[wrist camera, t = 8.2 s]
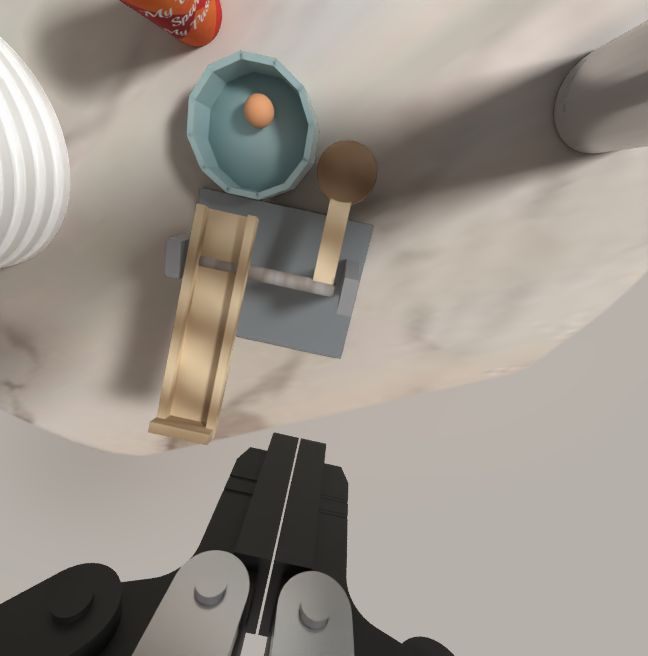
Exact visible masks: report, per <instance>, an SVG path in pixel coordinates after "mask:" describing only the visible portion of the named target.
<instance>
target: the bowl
mask: <svg viewBox="0 0 648 656" xmlns="http://www.w3.org/2000/svg"><path fill="white" fill-rule="evenodd" d="M256 93H260V94H263V95H265V96H267V97H268V98H269V99H270V101H271V102H272V104H273V107H274V117H273V120H272V122H271V123H270V124H269V125H268V126H267V127H265V128H256V127H254V126H252V125H251V124H250V123H249V122H248V121H247V119H246V117H245V115H244V104H245V101H246V100H247V98H248V97H249V96H250V95H252V94H256ZM319 132H320V131H319V128H318V125H317V121H316V118H315V115H314V111H313V108H312V105H311V101H310V98H309V96H308V94H307V92H306V90H305V88H304V86H303V85H302V84H301V83H300V82H299V81H298V80H297V79H296V78H295V77H294V76H293V75H292V74H291V73H290V72H289V71H288V70H287V69H286V68H285V67H284V66H283V65H282V64H281V63H280V62H279V61H278V60H277V59H276V58H272V57H268V56H263V55H259V54H254V53H249V52H245V51H238V52H236V53H234V54H232V55H230V56H227V57H225V58H223V59H221V60H218V61H216V62H214V63H212V64H210V65H208V66H207V68H206V70H205V71H204V73H203V74H202V76H201V78H200V79H199V81H198V83H197V84H196V86H195V87H194V89H193V91H192V92H191V94H190V96H189V101H188V119H187V137H188V140H189V142H190V144H191V147H192V149H193V152H194V154H195V157H196V159H197V162H198V164H199V166H200V169H201V170H202V171H203V172H204V173H205V174H206V175H207V176H208V177H210V178H211V179H212V180H213V181H214V182H215V183H216V184H217V185H219V186H220V187H221V188H222V189H223V190H224V191H225V192H226V193H230V194H234V195H239V196H244V197H248V198H253V199H257V200H260V199H268V198H271V197H274V196H276V195H279V194H282V193H285V192H287V191H290V190H293V189H295V188H296V187H297V185H298V184H299V183H300V182H301V180H302V179H303V178H304V177H305V175H306V174H307V173H308V172H309V170H310V169H311V168H312V166H313V165H314V161H315V155H316V149H317V144H318V138H319Z"/></svg>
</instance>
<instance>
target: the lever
mask: <svg viewBox="0 0 648 656" xmlns="http://www.w3.org/2000/svg"><path fill="white" fill-rule="evenodd" d="M317 177H318V183H319V187H320V189H321V191H322V193H323V194H324V195H325V197H326V198H327V199H329V200H330V203H329V207H328V212H327V217H326V221H325V226H324V231H323V235H322V240H321V245H320V249H319V254H318V259H317V263H316V268H315V272H314V277H313V278H309V277H304V276H300V275H295V274H291V273H286V272H282V271H277V270H273V269H268V268H263V267H259V266H254V265H250V262H251V257H252V252H253V247H254V242H255V237H256V232H257V227H258V222H259V219H258V218H257V217H256V216H252V215H248V217H246V216H241V215H236V214H232V213H227V212H223V211H218V210H214V209H209V208H208V207H207V206H205V205H202V204H196V209H195V215H194V220H193V225H192V231H191V236H190V241H189V247H188V252H187V258H186V263H185V268H184V274H183V279H182V284H181V290H180V295H179V300H178V306H177V311H176V317H175V322H174V327H173V333H172V338H171V343H170V349H169V354H168V359H167V365H166V370H165V376H164V381H163V386H162V392H161V397H160V402H159V408H158V413H157V417H156V418H155V419H153V420H152V421H150V425H149V430H148V432H150V433H154V434H159V435H163V436H168V437H173V438H177V439H182V440H186V441H191V442H195V443H200V444H204V445H208V444H209V442H210V441H211V440H212V439H213V438H214V436H215V435H216V431H217V426H218V421H219V416H220V411H221V406H222V401H223V396H224V391H225V386H226V381H227V376H228V371H229V366H230V361H231V356H232V351H233V346H234V341H235V336H236V331H237V326H238V322H239V317H240V312H241V307H242V302H243V297H244V292H245V287H246V282H247V279H251V280H255V281H260V282H264V283H269V284H273V285H278V286H282V287H287V288H291V289H296V290H301V291H305V292H310V293H314V294H319V295H323V296H328V297H332V298H333V293H334V289H335V284H336V283H334V279H335V274H336V270H337V265H338V261H339V256H340V252H341V247H342V243H343V238H344V234H345V229H346V224H347V220H348V215H349V211H350V206H351V205H354V204H357V203H359V202H361V201H363V200H364V199H365V198H366V197H367V196H368V195H369V194H370V193H371V191H372V189H373V187H374V184H375V181H376V178H377V164H376V161H375V158H374V156H373V154H372V153H371V152H370V151H369V149H368V148H366V147H365V146H364V145H362V144H360V143H358V142H355V141H340V142H337V143H334V144H333V145H331V146H330V147H328V148H327V149H326V150H325V151H324V153H323V154H322V156H321V157H320V160H319V163H318V167H317Z"/></svg>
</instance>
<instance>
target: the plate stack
mask: <svg viewBox="0 0 648 656" xmlns="http://www.w3.org/2000/svg"><path fill="white" fill-rule="evenodd" d="M69 195H70V166H69V159H68V153H67V148H66V144H65V140H64V136H63V133H62V130H61V127H60V124H59V121H58V119H57V116H56V114H55V112H54V110H53V107H52V105H51V103H50V101H49V99H48V97H47V96H46V94H45V92H44V90H43V89H42V87H41V85H40V84H39V82H38V81H37V79H36V78H35V76H34V75H33V73H32V72H31V70H30V69H29V68H28V66H27V65H26V64H25V63H24V61H23V60H22V59H21V58H20V57H19V55H18V54H17V53H16V52H15V51H14V50H13V49H12V48H11V47H10V46H9V45H8V44H7V43H6V42H5V41H4V40H3V39H2V38H1V37H0V268H2V267H7V266H12V265H16V264H19V263H22V262H24V261H27V260H29V259H31V258H32V257H34V256H36V255H37V254H39V253H40V252H41V251H42V250H43V249H45V248H46V247H47V246H48V245H49V243H50V242H51V241H52V240H53V238H54V237H55V236H56V234H57V232H58V231H59V229H60V227H61V225H62V222H63V220H64V217H65V214H66V211H67V207H68V202H69Z"/></svg>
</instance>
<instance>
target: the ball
mask: <svg viewBox="0 0 648 656" xmlns="http://www.w3.org/2000/svg"><path fill="white" fill-rule="evenodd" d="M244 115H245V117H246V119H247V121H248V122H249V123H250V124H251V125H252V126H254V127H256V128H265V127H267V126H268V125H269V124H270V123H271V122H272V120H273V117H274V107H273V104H272V102H271V101H270V99H269V98H268V97H267V96H265V95H263V94H260V93H256V94H252V95H250V96H249V97H248V98H247V100H246V101H245V104H244Z"/></svg>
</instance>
